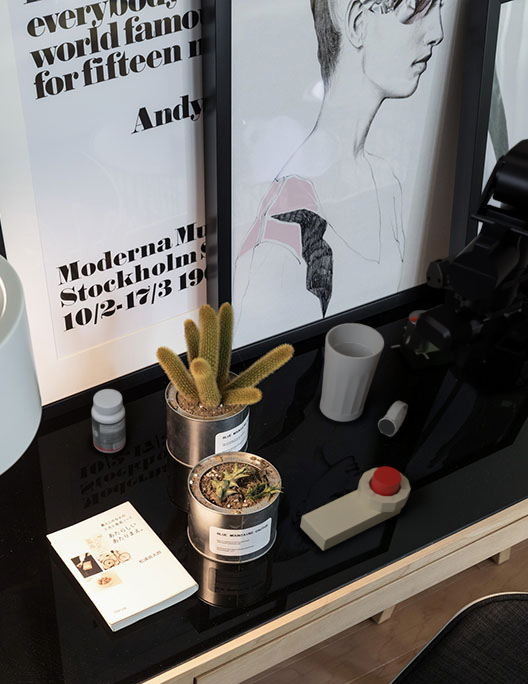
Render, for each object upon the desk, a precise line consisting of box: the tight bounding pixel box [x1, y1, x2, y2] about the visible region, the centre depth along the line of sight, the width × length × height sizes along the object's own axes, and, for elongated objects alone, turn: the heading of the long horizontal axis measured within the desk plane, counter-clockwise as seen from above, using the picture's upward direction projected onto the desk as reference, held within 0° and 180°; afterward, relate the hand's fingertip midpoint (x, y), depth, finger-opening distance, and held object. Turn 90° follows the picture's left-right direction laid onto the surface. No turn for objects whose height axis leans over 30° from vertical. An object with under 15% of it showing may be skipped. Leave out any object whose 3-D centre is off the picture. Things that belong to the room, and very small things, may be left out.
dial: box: [403, 309, 430, 351], centre depth 143 cm, size 4×4×5 cm
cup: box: [319, 322, 385, 422], centre depth 136 cm, size 8×8×12 cm
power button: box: [371, 466, 402, 496], centre depth 125 cm, size 4×4×2 cm
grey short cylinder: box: [377, 400, 409, 438], centre depth 135 cm, size 3×5×5 cm, turn 143°
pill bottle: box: [90, 388, 127, 454], centre depth 134 cm, size 5×5×8 cm
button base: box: [299, 467, 411, 552], centre depth 125 cm, size 15×6×4 cm, turn 121°
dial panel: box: [390, 326, 475, 371], centre depth 147 cm, size 15×8×3 cm, turn 105°
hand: (468, 363), depth 126 cm, fingers open, 3 cm apart
